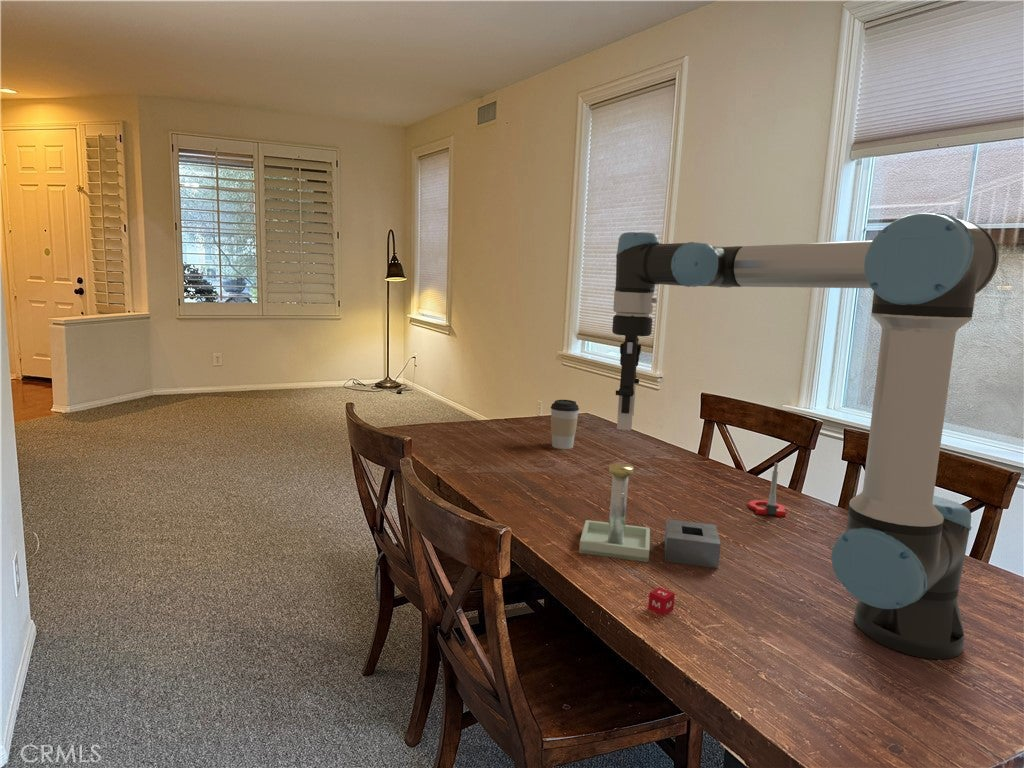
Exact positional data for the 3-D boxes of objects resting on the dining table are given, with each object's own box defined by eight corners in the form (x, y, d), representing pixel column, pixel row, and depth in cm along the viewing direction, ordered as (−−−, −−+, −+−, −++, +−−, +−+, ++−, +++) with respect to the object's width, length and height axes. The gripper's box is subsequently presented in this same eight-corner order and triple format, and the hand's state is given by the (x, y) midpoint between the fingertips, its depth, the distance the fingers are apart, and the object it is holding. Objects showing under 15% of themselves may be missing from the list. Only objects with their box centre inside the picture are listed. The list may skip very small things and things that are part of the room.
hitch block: (718, 568, 125) (720, 544, 124) (665, 561, 127) (667, 537, 126) (713, 547, 135) (715, 524, 134) (664, 541, 137) (666, 518, 136)
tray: (648, 562, 126) (649, 550, 126) (579, 552, 129) (579, 541, 129) (648, 538, 138) (649, 527, 137) (585, 530, 140) (585, 519, 140)
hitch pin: (626, 548, 130) (632, 471, 128) (602, 545, 131) (608, 468, 129) (627, 538, 135) (633, 464, 132) (604, 536, 136) (610, 462, 133)
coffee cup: (545, 448, 205) (547, 401, 202) (552, 441, 213) (554, 396, 210) (573, 451, 202) (576, 404, 199) (579, 444, 211) (582, 399, 208)
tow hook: (745, 503, 164) (752, 514, 155) (750, 453, 162) (758, 462, 153) (779, 506, 163) (789, 518, 154) (785, 456, 161) (795, 465, 152)
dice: (648, 608, 109) (649, 592, 108) (658, 603, 111) (659, 586, 111) (663, 616, 107) (665, 599, 106) (673, 610, 109) (674, 593, 108)
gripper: (652, 319, 112) (643, 438, 116) (652, 312, 136) (645, 410, 140) (608, 317, 114) (601, 434, 117) (616, 310, 138) (610, 408, 141)
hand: (625, 421), depth 129 cm, fingers open, 13 cm apart
